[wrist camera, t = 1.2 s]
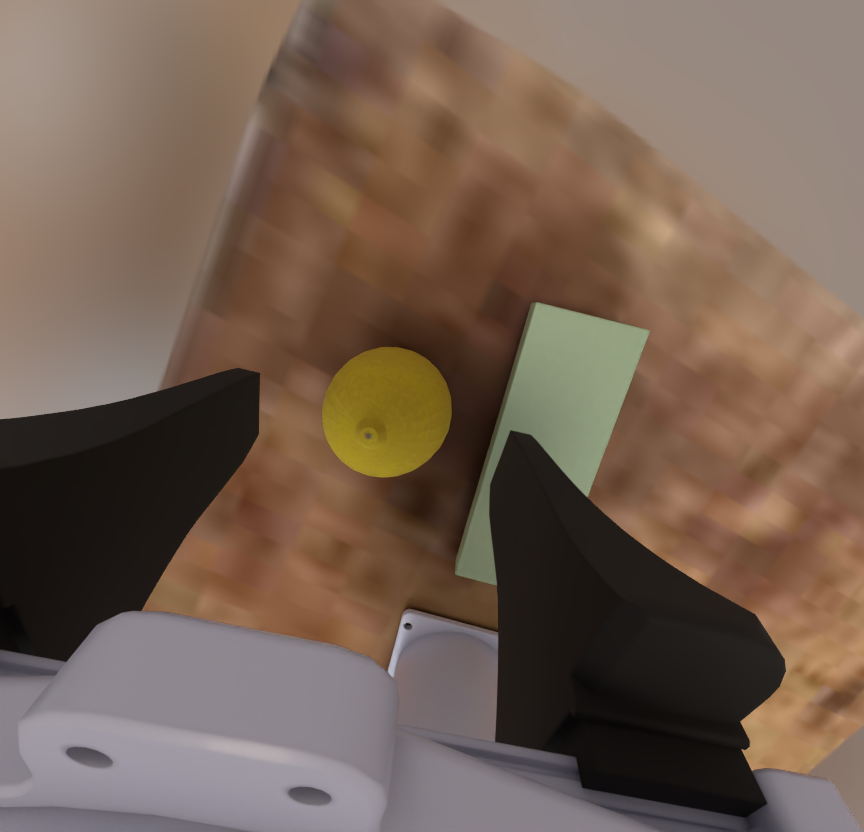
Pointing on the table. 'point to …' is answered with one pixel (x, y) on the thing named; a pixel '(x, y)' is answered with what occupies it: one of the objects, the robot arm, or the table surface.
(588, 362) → the green block
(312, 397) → the table surface
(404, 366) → the lemon
